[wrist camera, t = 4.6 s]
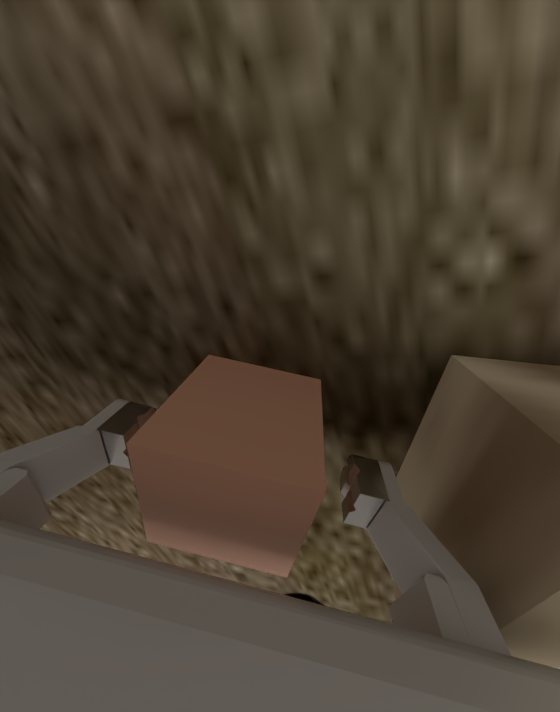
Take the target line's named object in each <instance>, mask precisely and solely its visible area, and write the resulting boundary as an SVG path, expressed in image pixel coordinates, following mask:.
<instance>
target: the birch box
mask: <svg viewBox="0 0 560 712" xmlns="http://www.w3.org/2000/svg"><path fill="white" fill-rule="evenodd" d="M396 479H397V482H398V485H399V488H400V491H401V494H402V497H403V499H404V502H405V505H406V506H408V507H410V508H411V509H412V510H413V511H414V512H415V513H416V515H417V516H418V517H419V518H420V519H421V520H422V521H423V523H424V524H425V525H426V526H427V527H428V528H429V529H430V531H431V532H432V533H433V534H434V535H435V536H436V537H437V539H438V540H439V541H440V542H441V543H442V544H443V546H444V547H445V548H446V549H447V550H448V551H449V552H450V554H451V555H452V556H453V557H454V558H455V559H456V560H457V562H458V563H459V564H460V565H461V566H462V567H463V569H464V570H465V571H466V572H467V573H468V574H469V575H470V577H471V578H472V579H473V580H474V581H475V582H476V583H477V585H478V586H479V588H480V590H481V593H482V595H483V597H484V599H485V601H486V603H487V605H488V607H489V609H490V612H491V614H492V616H493V618H494V620H495V622H496V624H497V626H498V628H499V631H500V633H501V635H502V637H503V639H504V641H505V643H506V645H507V647H508V650H509V652H510V654H511V656H513V657H517V658H521V659H524V660H528V661H532V662H536V663H539V664H543V665H547V666H550V667H554V668H558V669H560V366H555V365H546V364H536V363H526V362H516V361H506V360H496V359H486V358H477V357H467V356H457V355H451V357H450V359H449V361H448V364H447V366H446V368H445V370H444V372H443V375H442V377H441V379H440V381H439V384H438V386H437V388H436V390H435V392H434V395H433V397H432V399H431V401H430V403H429V406H428V408H427V410H426V412H425V415H424V417H423V419H422V421H421V423H420V426H419V428H418V430H417V432H416V434H415V437H414V439H413V441H412V443H411V446H410V448H409V450H408V452H407V454H406V457H405V459H404V461H403V463H402V465H401V468H400V470H399V472H398V474H397V476H396ZM390 575H391V573H390ZM391 579H392V583H393V588H394V592H395V597H396V599H398V598H399V597H400V596H401V595H402V593H401V591H400V589H399V588H398V586H397V584H396V582H395V581H394V579H393V577H392V575H391Z"/></svg>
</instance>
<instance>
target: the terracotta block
mask: <svg viewBox="0 0 560 712" xmlns="http://www.w3.org/2000/svg"><path fill="white" fill-rule="evenodd" d="M126 445H127V449H128V454H129V459H130V463H131V468H132V473H133V477H134V482H135V486H136V491H137V496H138V500H139V505H140V510H141V514H142V519H143V524H144V528H145V533H146V538H147V541H148V542H152V543H156V544H159V545H163V546H167V547H171V548H175V549H179V550H183V551H186V552H190V553H194V554H198V555H202V556H206V557H209V558H213V559H217V560H221V561H225V562H229V563H233V564H236V565H240V566H244V567H248V568H252V569H256V570H259V571H263V572H267V573H271V574H275V575H279V576H283V577H286V578H287V576H288V574H289V572H290V570H291V568H292V565H293V563H294V561H295V559H296V557H297V554H298V552H299V550H300V548H301V546H302V544H303V541H304V539H305V537H306V535H307V533H308V530H309V528H310V526H311V524H312V522H313V519H314V517H315V515H316V513H317V511H318V509H319V506H320V504H321V502H322V500H323V498H324V495H325V493H326V479H325V457H324V436H323V415H322V394H321V379H316V378H312V377H307V376H303V375H298V374H294V373H289V372H285V371H280V370H276V369H271V368H267V367H262V366H258V365H253V364H249V363H244V362H240V361H235V360H231V359H226V358H222V357H217V356H213V355H208V356H207V357H206V358H205V359H204V360H203V362H202V363H201V364H200V365H199V366H198V367H197V368H196V369H195V370H194V371H193V372H192V373H191V374H190V376H189V377H188V378H187V379H186V380H185V381H184V382H183V383H182V384H181V385H180V386H179V387H178V388H177V389H176V391H175V392H174V393H173V394H172V395H171V396H170V397H169V398H168V399H167V400H166V401H165V402H164V403H163V404H162V406H161V407H160V408H159V409H158V410H157V411H156V412H155V413H154V414H153V415H152V416H151V417H150V418H149V419H148V421H147V422H146V423H145V424H144V425H143V426H142V427H141V428H140V429H139V430H138V431H137V432H136V433H135V434H134V436H133V437H132V438H131V439H130V440H129V441H128V442H127V443H126Z"/></svg>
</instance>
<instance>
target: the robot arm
mask: <svg viewBox="0 0 560 712" xmlns="http://www.w3.org/2000/svg"><path fill="white" fill-rule="evenodd" d="M156 411H157V410H156V408H154V407H150V406H146V405H143V404H139V403H135V402H131V401H127V400H123V399H118V400H115V401H114V402H112V403H111V404H110V405H109V406H107V407H106V408H105V409H103V410H102V411H101V412H100V413H98V414H97V415H96V416H95V417H93V418H92V419H91V420H89V421H88V422H87V423H86V424H84V425H83V426H75V427H73V428H70V429H67V430H64V431H61V432H58V433H55V434H53V435H50V436H47V437H44V438H41V439H38V440H35V441H33V442H30V443H27V444H24V445H21V446H18V447H16V448H13V449H10V450H7V451H4V452H1V453H0V712H560V669H558V668H554V667H550V666H547V665H543V664H539V663H536V662H532V661H528V660H524V659H521V658H517V657H513V656H511V654H510V652H509V650H508V647H507V645H506V643H505V641H504V639H503V637H502V635H501V633H500V631H499V628H498V626H497V624H496V622H495V620H494V618H493V616H492V614H491V612H490V609H489V607H488V605H487V603H486V601H485V599H484V597H483V595H482V593H481V590H480V588H479V586H478V585H477V583H476V582H475V581H474V580H473V579H472V578H471V577H470V575H469V574H468V573H467V572H466V571H465V570H464V569H463V567H462V566H461V565H460V564H459V563H458V562H457V560H456V559H455V558H454V557H453V556H452V555H451V554H450V552H449V551H448V550H447V549H446V548H445V547H444V546H443V544H442V543H441V542H440V541H439V540H438V539H437V537H436V536H435V535H434V534H433V533H432V532H431V531H430V529H429V528H428V527H427V526H426V525H425V524H424V523H423V521H422V520H421V519H420V518H419V517H418V516H417V515H416V513H415V512H414V511H413V510H412V509H411V508H410V507H408V506H406V505H405V502H404V499H403V497H402V494H401V491H400V488H399V485H398V482H397V479H396V477H395V474H394V471H393V468H392V465H391V464H390V463H387V462H383V461H379V460H375V459H371V458H366V457H362V456H357V455H353V454H351V455H350V456H349V457H348V459H347V464H348V465H347V466H345V467H343V470H342V472H341V477H340V492H341V494H342V495H343V496H344V500H343V502H342V512H343V521H344V523H347V524H351V525H354V526H358V527H362V528H365V529H366V531H367V533H368V534H369V536H370V538H371V540H372V542H373V543H374V545H375V547H376V549H377V550H378V552H379V554H380V556H381V557H382V559H383V561H384V563H385V565H386V566H387V568H388V570H389V572H390V573H391V575H392V577H393V579H394V581H395V582H396V584H397V586H398V588H399V589H400V591H401V593H402V595H401V596H400V597H399V598H398V599H396V600H395V601H394V602H393V603H392V604H391V606H390V607H389V608H390V613H391V618H392V623H393V624H391V623H387V622H383V621H379V620H376V619H372V618H368V617H364V616H361V615H357V614H353V613H350V612H346V611H342V610H338V609H335V608H331V607H327V606H324V605H320V604H316V603H312V602H309V601H305V600H301V599H298V598H294V597H290V596H286V595H283V594H279V593H275V592H271V591H268V590H264V589H260V588H257V587H253V586H249V585H245V584H242V583H238V582H234V581H230V580H227V579H223V578H219V577H216V576H212V575H208V574H204V573H201V572H197V571H193V570H190V569H186V568H182V567H178V566H175V565H171V564H167V563H163V562H160V561H156V560H152V559H149V558H145V557H141V556H137V555H134V554H130V553H126V552H122V551H119V550H115V549H111V548H108V547H104V546H100V545H96V544H93V543H89V542H85V541H81V540H78V539H74V538H70V537H67V536H63V535H59V534H55V533H52V532H48V531H44V530H40V528H41V527H42V526H43V525H44V524H45V523H46V522H47V521H48V520H49V519H50V518H51V512H50V510H49V508H48V506H47V505H46V502H48V501H50V500H51V499H53V498H55V497H56V496H58V495H60V494H61V493H63V492H65V491H67V490H68V489H70V488H72V487H73V486H75V485H77V484H78V483H80V482H82V481H83V480H85V479H87V478H89V477H90V476H92V475H94V474H95V473H97V472H99V471H100V470H102V469H104V468H106V467H107V466H109V464H111V465H115V466H120V467H125V468H129V469H131V463H130V459H129V454H128V449H127V445H126V443H127V442H128V441H129V440H130V439H131V438H132V437H133V436H134V434H135V433H136V432H137V431H138V430H139V429H140V428H141V427H142V426H143V425H144V424H145V423H146V422H147V421H148V419H149V418H150V417H151V416H152V415H153V414H154V413H155V412H156Z"/></svg>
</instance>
